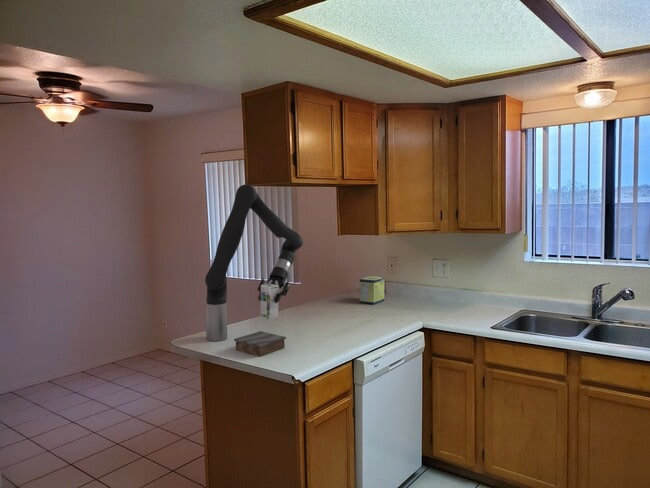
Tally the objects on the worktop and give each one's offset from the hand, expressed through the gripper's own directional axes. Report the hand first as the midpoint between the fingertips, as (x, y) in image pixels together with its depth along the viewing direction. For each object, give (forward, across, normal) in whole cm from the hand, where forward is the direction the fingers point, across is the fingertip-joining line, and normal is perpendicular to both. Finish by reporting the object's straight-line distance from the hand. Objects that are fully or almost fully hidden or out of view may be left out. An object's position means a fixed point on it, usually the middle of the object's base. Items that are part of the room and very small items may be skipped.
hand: (267, 301), depth 210 cm
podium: (+15, -4, +16) cm, 22 cm away
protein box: (-66, +11, +96) cm, 117 cm away
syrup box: (+4, 0, +6) cm, 8 cm away
